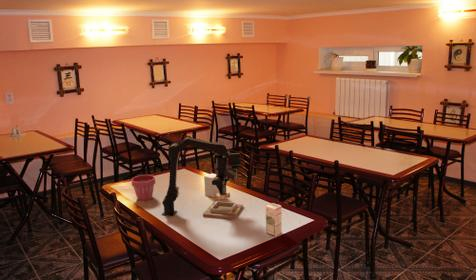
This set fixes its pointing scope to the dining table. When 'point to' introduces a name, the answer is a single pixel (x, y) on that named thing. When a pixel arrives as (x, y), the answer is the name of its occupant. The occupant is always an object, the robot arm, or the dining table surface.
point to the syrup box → (273, 219)
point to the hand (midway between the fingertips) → (222, 192)
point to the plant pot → (143, 186)
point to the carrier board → (223, 210)
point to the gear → (224, 195)
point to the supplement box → (210, 185)
